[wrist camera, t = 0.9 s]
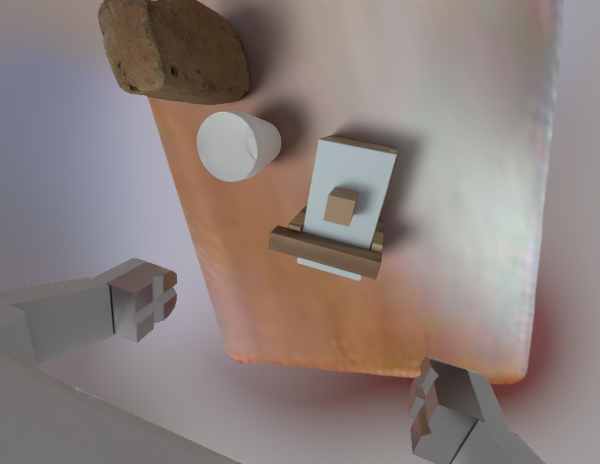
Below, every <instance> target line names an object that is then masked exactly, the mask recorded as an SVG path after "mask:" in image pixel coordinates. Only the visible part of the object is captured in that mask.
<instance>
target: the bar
mask: <svg viewBox="0 0 600 464" xmlns="http://www.w3.org/2000/svg"><path fill="white" fill-rule="evenodd" d="M268 249H271V250H274V251H278V252H281V253H285V254H288V255H292V256H295V257H299V258H302V259H306V260H309V261H313V262H316V263H320V264H323V265H327V266H330V267H334V268H337V269H341V270H344V271H348V272H351V273H355V274H358V275H362V276H365V277H369V278H372V279H375V280H376V278H377V274H378V271H379V268H380V265H381V257H382V253H380V252H376V251H372V250H368V249H365V248H361V247H357V246H354V245H350V244H346V243H342V242H339V241H335V240H331V239H327V238H324V237H320V236H316V235H312V234H309V233H305V232H301V231H296V230H292V229H288V228H286V227H282V226H279V225H278V226H277V227H276V228H275V229H274V230H273V231H272V232H271V233H270V239H269V247H268Z"/></svg>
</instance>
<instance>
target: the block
mask: <svg viewBox="0 0 600 464" xmlns="http://www.w3.org/2000/svg"><path fill="white" fill-rule="evenodd" d="M98 20H99V24H100V29H101V32H102V34H103V37H104V38H103V42H104V47H105V51H106V55H107V57H108V60H109V62H110V65H111V68H112V71H113V73H114V75H115V78H116V80H117V82H118V84H119V86H120V88H122V89H123V90H124V91H126V92H128V93H130V94H139V95H146V96H148V97H153V98H158V99H164V100H171V101H179V102H188V103H193V104H203V105H215V104H224V103H231V102H235V101H238V100H240V98H241V97H242V96H243V95H244V94H245V93H246V92H248V90H249V86H250V78H249V69H248V63H247V60H246V56H245V54H244V52H243V47H242V45H241V42H240V40H239V38H238V35H237V33H236V32H235V31H234V29H233V28H232V25H231V24H230V23H229V22H228V21H227V20H226V19H225V18H223V17H222V16H221V15H219V14H218V13H216V12H215V11H213V10H212V9H210V8H208V7H207V6H205V5H204V4H202V3H200V2H198V1H196V0H158V1H151V0H104V2H103V3H102V4H101V7H100V9H99V12H98Z"/></svg>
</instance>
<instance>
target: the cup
mask: <svg viewBox="0 0 600 464" xmlns="http://www.w3.org/2000/svg"><path fill="white" fill-rule="evenodd" d="M281 144H282V141H281V136H280V133H279V131H278V130H277V128H276V127H275V126H274V125H273V124H271V123H270V122H268V121H265V120H262V119H260V118H257V117H255V116H252V115H250V114H247V113H244V112H240V111H227V112H217V113H214V114H212V115H210V116H209V117H207V118H206V119H205V120H204V122H203V123H202V124H201V126H200V128H199V131H198V135H197V150H198V154H199V157H200V159H201V162H202V163H203V165H204V167H205V168H206V169H207V170H208V171H209V172H210V173H211V174H212V175H213V176H215V177H216V178H218V179H220V180H223V181H227V182H235V181H239V180H242V179H247V178H250V177H252V176H254V175H256V174H257V173H258V172H259V171H261V170H262V169H263V168H264V167H265V166H267V165H268V164H269V163H270V162H271V161H272V160H274V159H275V158H276V157H277V156H278V154H279V152H280V150H281Z"/></svg>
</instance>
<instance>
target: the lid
mask: <svg viewBox="0 0 600 464" xmlns="http://www.w3.org/2000/svg"><path fill="white" fill-rule="evenodd" d="M396 156H397V154H395V153H390V152H384V151H379V150H374V149H369V148H364V147H359V146H354V145H349V144H344V143H339V142H334V141H329V140H324V139H319V143H318V148H317V154H316V159H315V165H314V170H313V176H312V182H311V187H310V193H309V198H308V204H307V210H306V215H305V221H304V226H303V232H305V233H309V234H312V235H316V236H320V237H324V238H327V239H331V240H335V241H339V242H342V243H346V244H350V245H354V246H357V247H361V248H365V249H368V250H369V248H370V245H371V241H372V238H373V235H374V231H375V228H376V224H377V221H378V217H379V214H380V211H381V207H382V204H383V200H384V197H385V193H386V190H387V187H388V183H389V180H390V176H391V173H392V169H393V166H394V163H395V159H396ZM297 263H299V264H303V265H306V266H310V267H313V268H317V269H320V270H323V271H327V272H330V273H334V274H337V275H341V276H344V277H348V278H351V279H354V280H358V281H360V279H361V276H362V275H358V274H355V273H351V272H348V271H344V270H341V269H337V268H334V267H330V266H327V265H323V264H320V263H316V262H313V261H309V260H306V259H302V258H299V257H298V260H297Z"/></svg>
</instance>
